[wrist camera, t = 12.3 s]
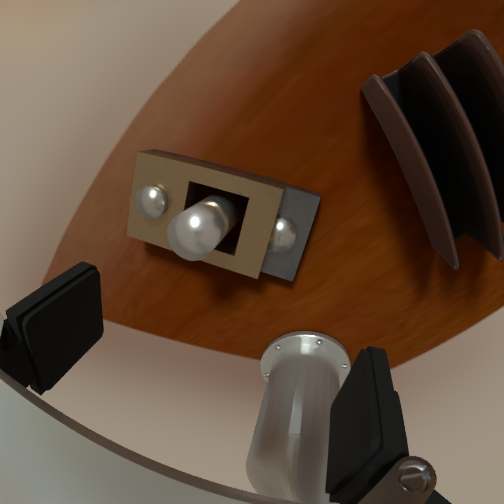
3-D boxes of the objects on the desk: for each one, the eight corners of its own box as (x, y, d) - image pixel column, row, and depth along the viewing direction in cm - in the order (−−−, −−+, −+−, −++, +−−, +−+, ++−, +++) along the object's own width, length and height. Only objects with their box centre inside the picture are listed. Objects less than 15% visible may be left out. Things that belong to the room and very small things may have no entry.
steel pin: (237, 232, 36) (208, 267, 27) (202, 221, 37) (164, 252, 28) (246, 196, 35) (218, 220, 25) (209, 186, 35) (171, 206, 26)
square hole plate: (320, 193, 33) (321, 203, 28) (294, 274, 37) (290, 294, 32) (154, 149, 35) (132, 152, 30) (143, 225, 39) (122, 237, 34)
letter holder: (430, 57, 24) (488, 20, 12) (494, 214, 29) (562, 256, 16) (358, 88, 28) (384, 55, 15) (430, 247, 32) (480, 308, 19)
